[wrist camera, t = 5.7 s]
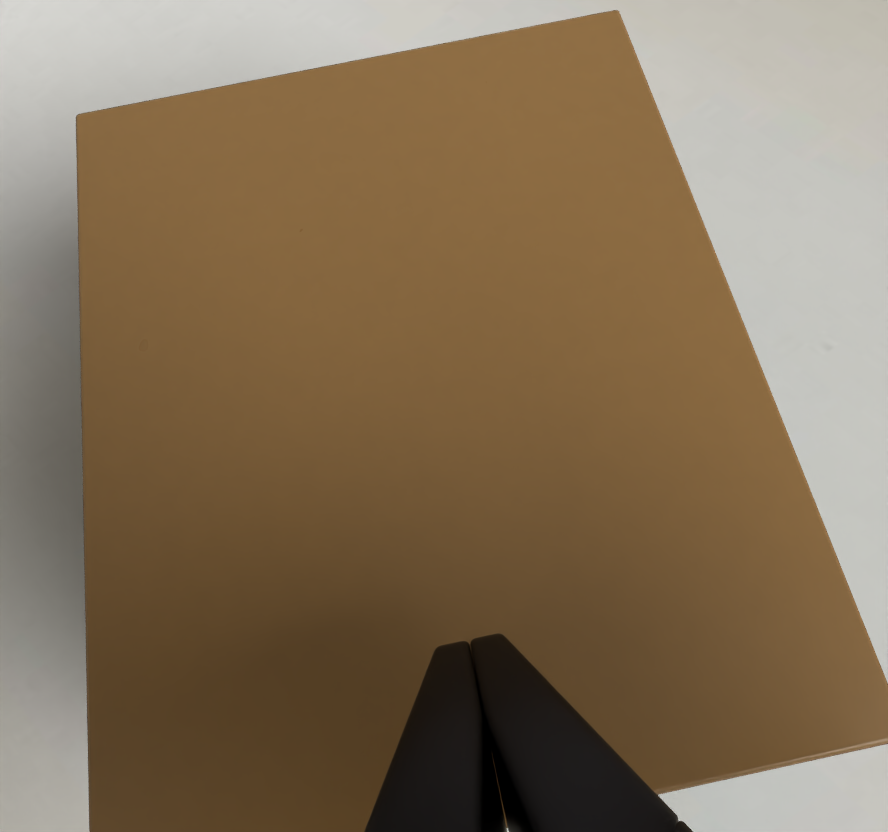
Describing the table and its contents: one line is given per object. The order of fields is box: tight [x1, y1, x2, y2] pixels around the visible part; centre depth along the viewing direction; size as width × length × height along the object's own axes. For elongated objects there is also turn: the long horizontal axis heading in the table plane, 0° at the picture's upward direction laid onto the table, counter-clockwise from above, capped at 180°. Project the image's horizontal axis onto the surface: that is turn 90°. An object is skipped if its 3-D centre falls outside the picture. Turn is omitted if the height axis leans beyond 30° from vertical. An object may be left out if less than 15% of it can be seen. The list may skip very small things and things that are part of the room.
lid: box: [76, 10, 888, 832], centre depth 13 cm, size 14×12×1 cm
